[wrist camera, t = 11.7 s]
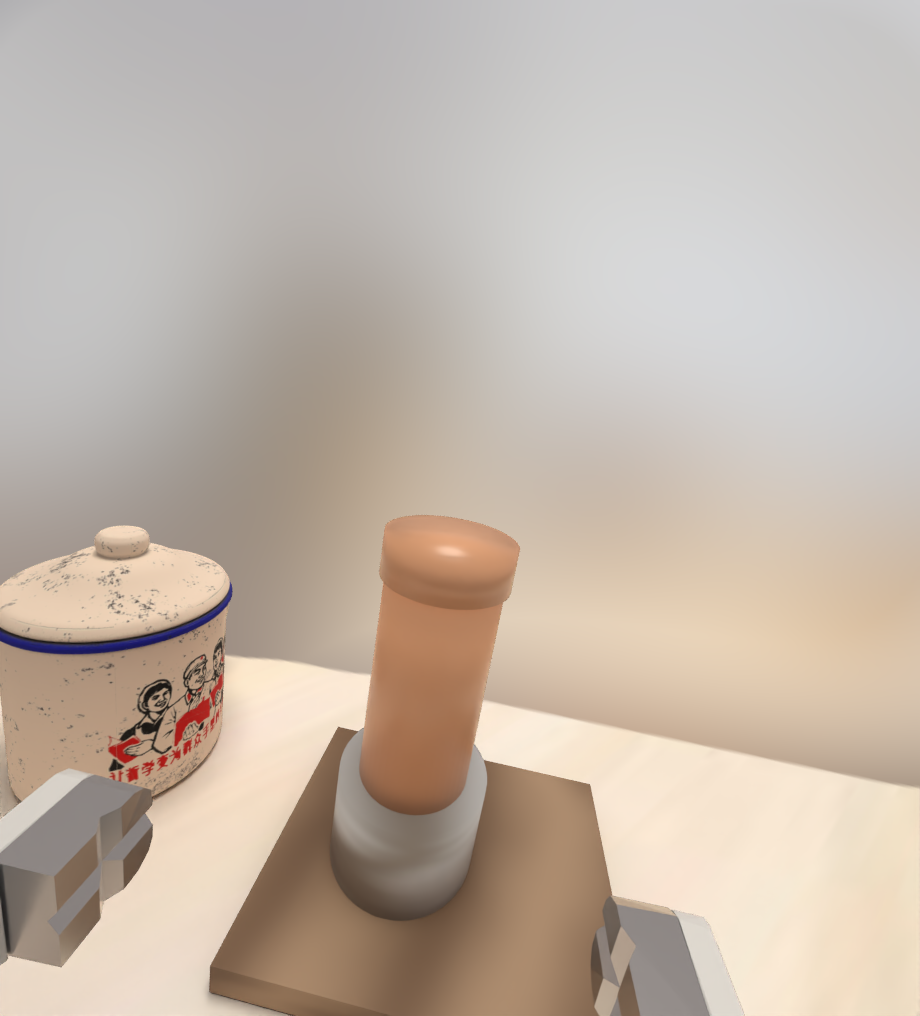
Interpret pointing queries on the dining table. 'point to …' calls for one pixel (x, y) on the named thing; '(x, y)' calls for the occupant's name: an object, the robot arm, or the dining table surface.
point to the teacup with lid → (113, 663)
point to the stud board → (455, 949)
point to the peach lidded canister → (432, 657)
